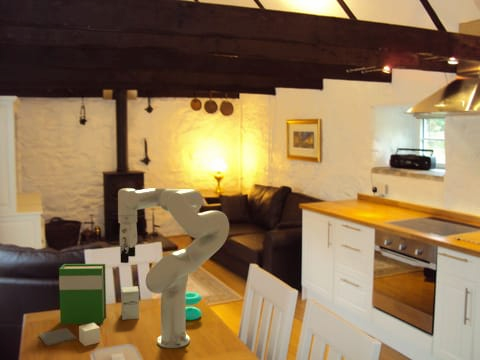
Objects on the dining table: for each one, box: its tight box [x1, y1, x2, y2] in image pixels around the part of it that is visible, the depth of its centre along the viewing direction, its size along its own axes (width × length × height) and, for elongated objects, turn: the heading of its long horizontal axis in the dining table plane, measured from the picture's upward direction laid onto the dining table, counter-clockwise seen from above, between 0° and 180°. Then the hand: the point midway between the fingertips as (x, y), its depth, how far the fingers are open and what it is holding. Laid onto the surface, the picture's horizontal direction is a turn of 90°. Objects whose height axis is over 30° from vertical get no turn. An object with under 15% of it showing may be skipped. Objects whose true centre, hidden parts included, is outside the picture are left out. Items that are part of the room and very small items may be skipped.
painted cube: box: [78, 323, 101, 347], centre depth 196 cm, size 6×6×6 cm
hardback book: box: [58, 263, 107, 325], centre depth 216 cm, size 18×7×24 cm, turn 94°
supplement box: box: [120, 285, 140, 321], centre depth 221 cm, size 7×7×13 cm
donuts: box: [185, 291, 202, 321], centre depth 222 cm, size 10×10×10 cm
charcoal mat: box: [38, 327, 77, 347], centre depth 199 cm, size 11×11×1 cm
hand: (128, 259), depth 207 cm, fingers open, 9 cm apart
